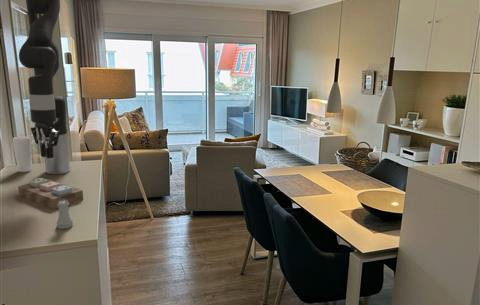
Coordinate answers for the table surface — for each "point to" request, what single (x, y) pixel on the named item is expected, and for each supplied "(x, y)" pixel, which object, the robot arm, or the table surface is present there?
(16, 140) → the drinking glass
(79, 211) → the table surface
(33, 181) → the three-pip button
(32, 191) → the button panel
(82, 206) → the table surface
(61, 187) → the two-pip button
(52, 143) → the robot arm
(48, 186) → the one-pip button
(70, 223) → the rook chess piece
